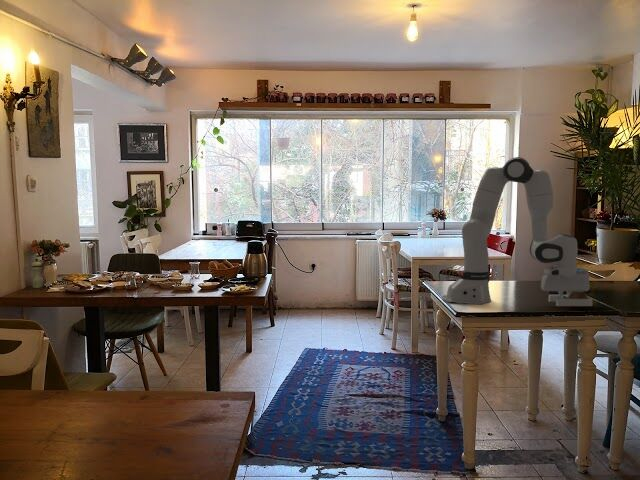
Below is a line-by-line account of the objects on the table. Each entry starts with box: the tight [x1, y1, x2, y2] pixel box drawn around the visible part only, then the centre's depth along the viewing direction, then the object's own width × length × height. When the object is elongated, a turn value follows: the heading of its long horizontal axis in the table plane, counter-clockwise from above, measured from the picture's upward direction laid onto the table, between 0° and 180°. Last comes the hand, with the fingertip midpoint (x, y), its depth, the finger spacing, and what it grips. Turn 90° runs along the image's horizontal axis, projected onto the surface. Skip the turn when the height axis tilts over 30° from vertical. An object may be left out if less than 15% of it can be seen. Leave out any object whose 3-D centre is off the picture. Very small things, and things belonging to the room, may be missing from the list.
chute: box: [548, 294, 594, 307], centre depth 229 cm, size 15×10×4 cm, turn 87°
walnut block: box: [569, 291, 588, 299], centre depth 229 cm, size 6×6×5 cm
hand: (564, 300), depth 229 cm, fingers closed
